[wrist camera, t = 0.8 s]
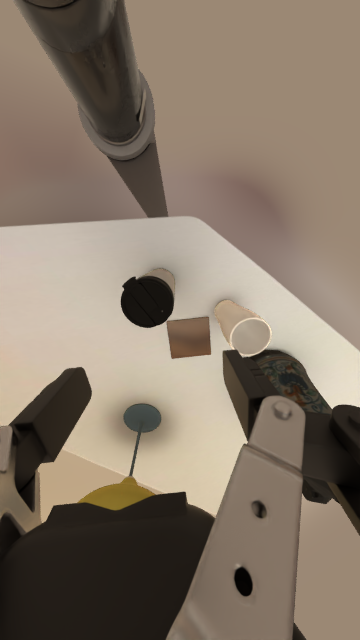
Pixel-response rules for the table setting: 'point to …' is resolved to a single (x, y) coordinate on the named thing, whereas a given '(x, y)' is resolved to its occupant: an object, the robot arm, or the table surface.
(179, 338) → the coaster
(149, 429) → the cocktail glass
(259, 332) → the drinking glass
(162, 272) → the travel mug
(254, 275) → the table surface
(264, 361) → the beer stein
